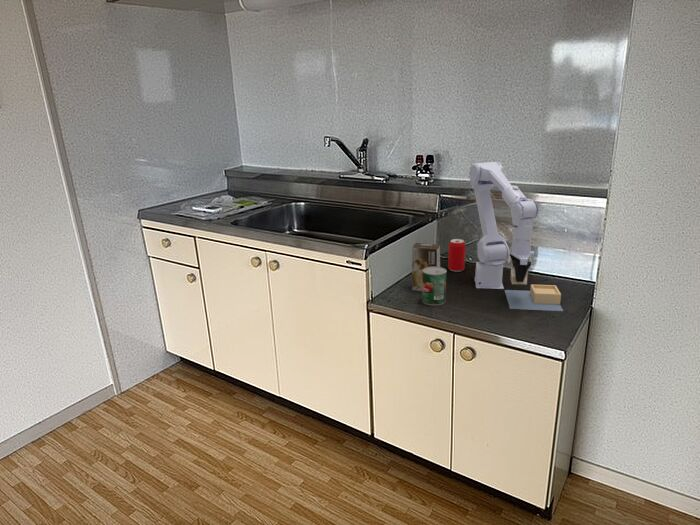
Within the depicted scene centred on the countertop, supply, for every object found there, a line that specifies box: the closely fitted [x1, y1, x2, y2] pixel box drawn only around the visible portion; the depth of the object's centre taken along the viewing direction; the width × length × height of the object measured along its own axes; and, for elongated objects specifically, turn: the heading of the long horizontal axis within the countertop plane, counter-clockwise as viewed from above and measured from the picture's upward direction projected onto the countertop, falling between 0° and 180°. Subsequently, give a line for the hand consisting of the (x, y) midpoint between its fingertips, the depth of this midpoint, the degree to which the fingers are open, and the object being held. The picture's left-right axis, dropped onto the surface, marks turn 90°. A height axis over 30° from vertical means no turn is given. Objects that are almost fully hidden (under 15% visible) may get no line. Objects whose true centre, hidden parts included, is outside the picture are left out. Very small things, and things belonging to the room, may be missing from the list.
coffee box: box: [411, 242, 441, 292], centre depth 173 cm, size 9×6×16 cm
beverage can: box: [447, 238, 466, 273], centre depth 191 cm, size 6×6×12 cm
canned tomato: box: [421, 266, 448, 307], centre depth 163 cm, size 8×8×11 cm
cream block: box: [509, 265, 529, 286], centre depth 158 cm, size 4×4×4 cm
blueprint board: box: [504, 284, 564, 312], centre depth 161 cm, size 16×16×4 cm
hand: (518, 278), depth 159 cm, fingers closed on cream block, 4 cm apart
